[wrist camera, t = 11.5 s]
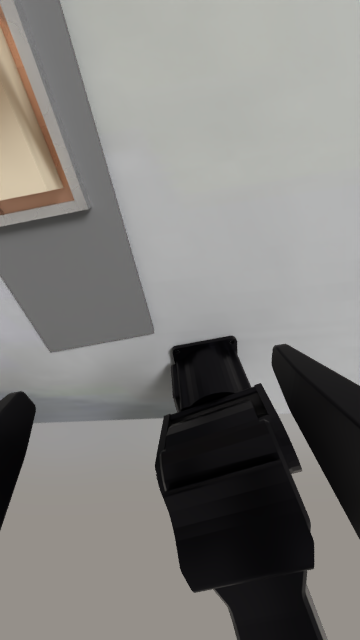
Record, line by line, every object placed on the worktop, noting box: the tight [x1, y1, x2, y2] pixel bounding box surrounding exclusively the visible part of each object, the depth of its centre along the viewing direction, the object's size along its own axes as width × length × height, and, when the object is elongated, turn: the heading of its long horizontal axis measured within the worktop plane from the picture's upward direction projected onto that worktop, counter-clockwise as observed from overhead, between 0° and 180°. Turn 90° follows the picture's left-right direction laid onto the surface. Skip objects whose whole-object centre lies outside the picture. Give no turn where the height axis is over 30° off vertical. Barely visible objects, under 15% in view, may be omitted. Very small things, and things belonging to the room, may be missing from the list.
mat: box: [0, 0, 154, 352], centre depth 16 cm, size 10×22×1 cm, turn 9°
